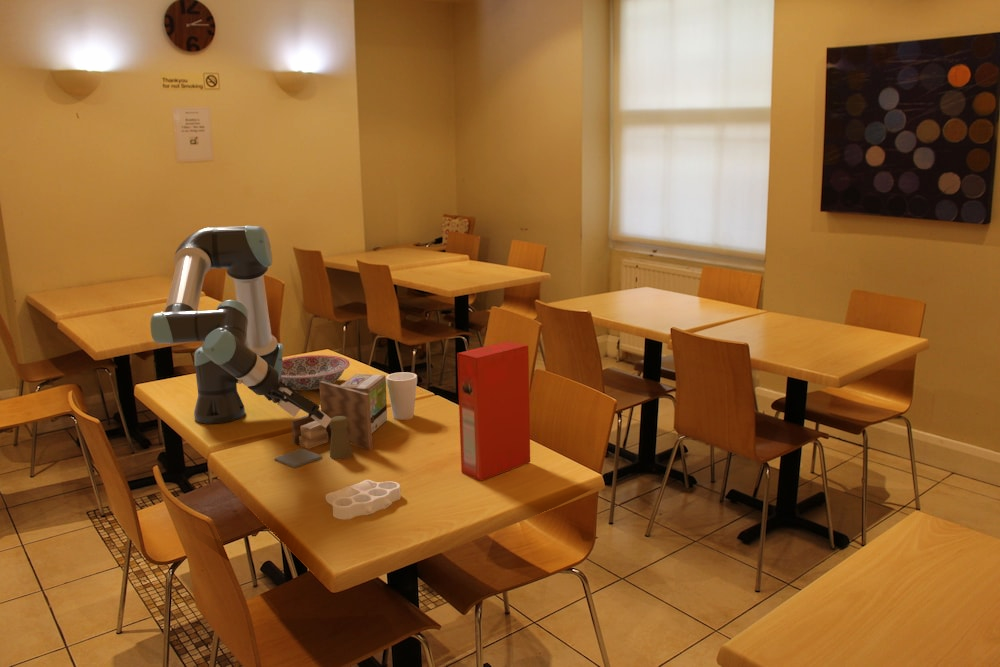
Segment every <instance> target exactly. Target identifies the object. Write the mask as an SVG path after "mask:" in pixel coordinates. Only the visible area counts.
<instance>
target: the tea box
mask: <svg viewBox="0 0 1000 667" xmlns="http://www.w3.org/2000/svg"><path fill="white" fill-rule="evenodd" d="M386 377H387V375H384V374H367V373H364V374H363V373H355V374H354V375H352V376H351V377H350V378H349V379H347V380H346V381H345V382H342V383H341V384H340V385H339V386H343V387H346V388H350V389H353V390H357V391H360V392H364V393H367V394H369V397H370V415H371V432H372V434H373V433H375V431H377V429H379V428H380V427H381V426H382V425H383V424H384V423H386V421H387V420H388V408H387V404H388V403H387V384H386Z"/></svg>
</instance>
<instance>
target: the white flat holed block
mask: <svg viewBox="0 0 1000 667" xmlns="http://www.w3.org/2000/svg"><path fill="white" fill-rule="evenodd" d="M401 491H402V490H401V485H400V483H399V482H396V481H389V480H385V481H381V482H379V481H378V482H377V481H373V480H371V479H367V478H366V479H364V480H363V481H361V482H357V483H355V484H352V485H348V486H346V487H343V488H340V489H338V490H335V491H330V492H328V493H327V494H326V495H325V500H326V502H327V503H328V504H329V505H331V506H332V515H333V517H334V518H336V519H338V520H351V519H353V518H355V517H359V516H360V517H361V516H368V515H373V514H375V513H376V512H377V511H381V510H385V509H387V508H389V507H390V506H391V505H393V503H394V502H396V501H400V499H401V498H402V494H401Z"/></svg>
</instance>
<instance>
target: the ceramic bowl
mask: <svg viewBox="0 0 1000 667" xmlns="http://www.w3.org/2000/svg"><path fill="white" fill-rule="evenodd" d="M350 366H351V362H350V361H349V359H347V358H344V357H341V356H338V355H329V354H328V355H327V354H326V355H325V354H315V355H314V354H309V355H299V356H293V357H286V358H282V376H281V378H280V379H279V380H278V383H279V382H282V383H284V384H285V386H287V385H288V386H290V387H291V388H292V389H294V390H295V391H313V390H320V388H319V382H320V381H325V382H328V383H332V384H335V382H337V381H338V380H339V379H340V378H341V377H342V375H343V373H344V371H346V369H348V368H349V367H350Z"/></svg>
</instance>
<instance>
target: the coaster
mask: <svg viewBox="0 0 1000 667" xmlns="http://www.w3.org/2000/svg"><path fill="white" fill-rule="evenodd" d="M320 459H323V456H322V455H320V454H317V453H315V452H313V451H310V450H307V449H306V448H300V449H297V450H294V451H291V452H288V453H285V454H281V455H279V456H276V457H274V460H275V461H276V462H278V463H281V464H284V465H286V466H289V467H291V468H294V469H295V468H298V467H301V466H303V465H306V464H310V463H311V462H312V463H313V462H314V461H319V460H320Z"/></svg>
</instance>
